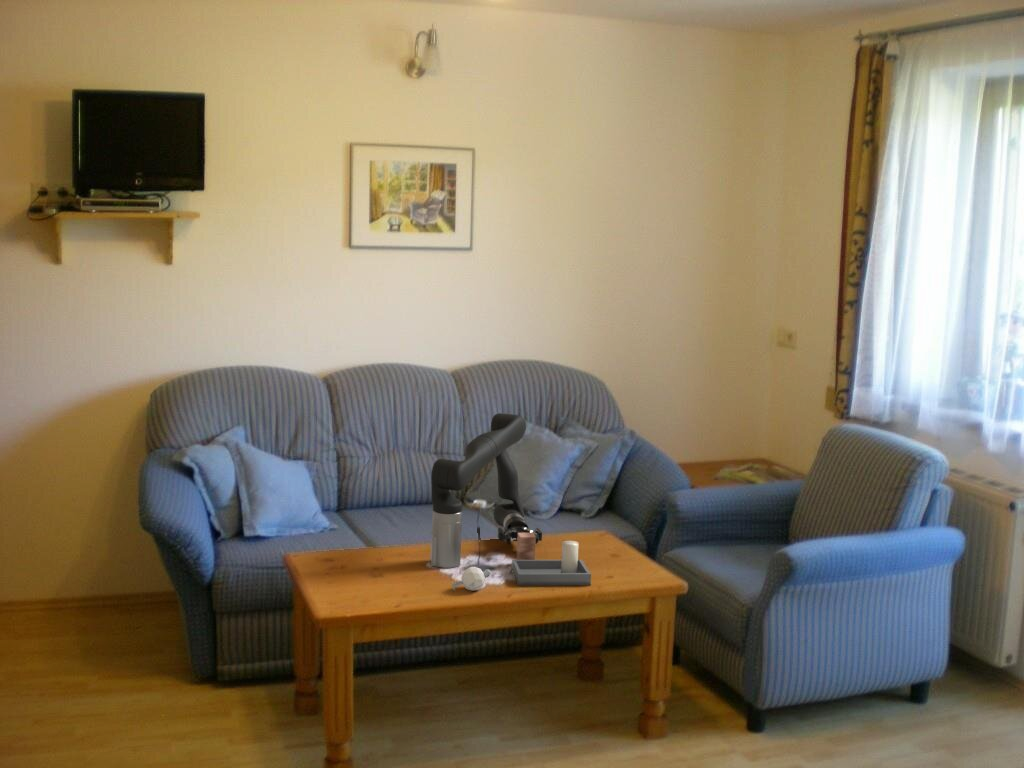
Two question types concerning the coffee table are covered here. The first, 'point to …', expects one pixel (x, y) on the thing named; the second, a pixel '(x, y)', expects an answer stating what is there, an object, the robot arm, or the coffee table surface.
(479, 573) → the alien figurine
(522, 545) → the coral block
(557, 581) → the tray
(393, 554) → the coffee table surface
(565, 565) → the cream cylinder
